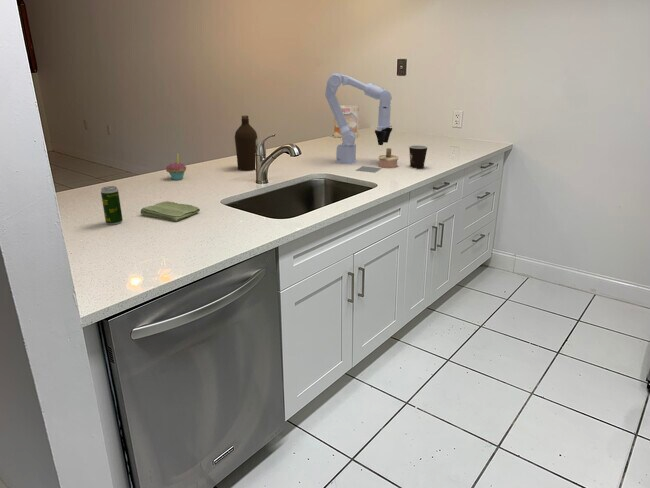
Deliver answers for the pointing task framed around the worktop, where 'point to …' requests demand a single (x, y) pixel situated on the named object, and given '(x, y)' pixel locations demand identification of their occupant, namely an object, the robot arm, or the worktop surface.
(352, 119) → the coffeecake box
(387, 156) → the lid
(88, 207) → the worktop surface
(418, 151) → the coffee mug
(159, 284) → the worktop surface
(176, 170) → the cupcake
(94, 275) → the worktop surface
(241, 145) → the olive oil
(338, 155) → the robot arm
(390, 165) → the bowl
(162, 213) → the washcloth
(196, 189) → the worktop surface
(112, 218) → the beer can
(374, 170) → the mat
